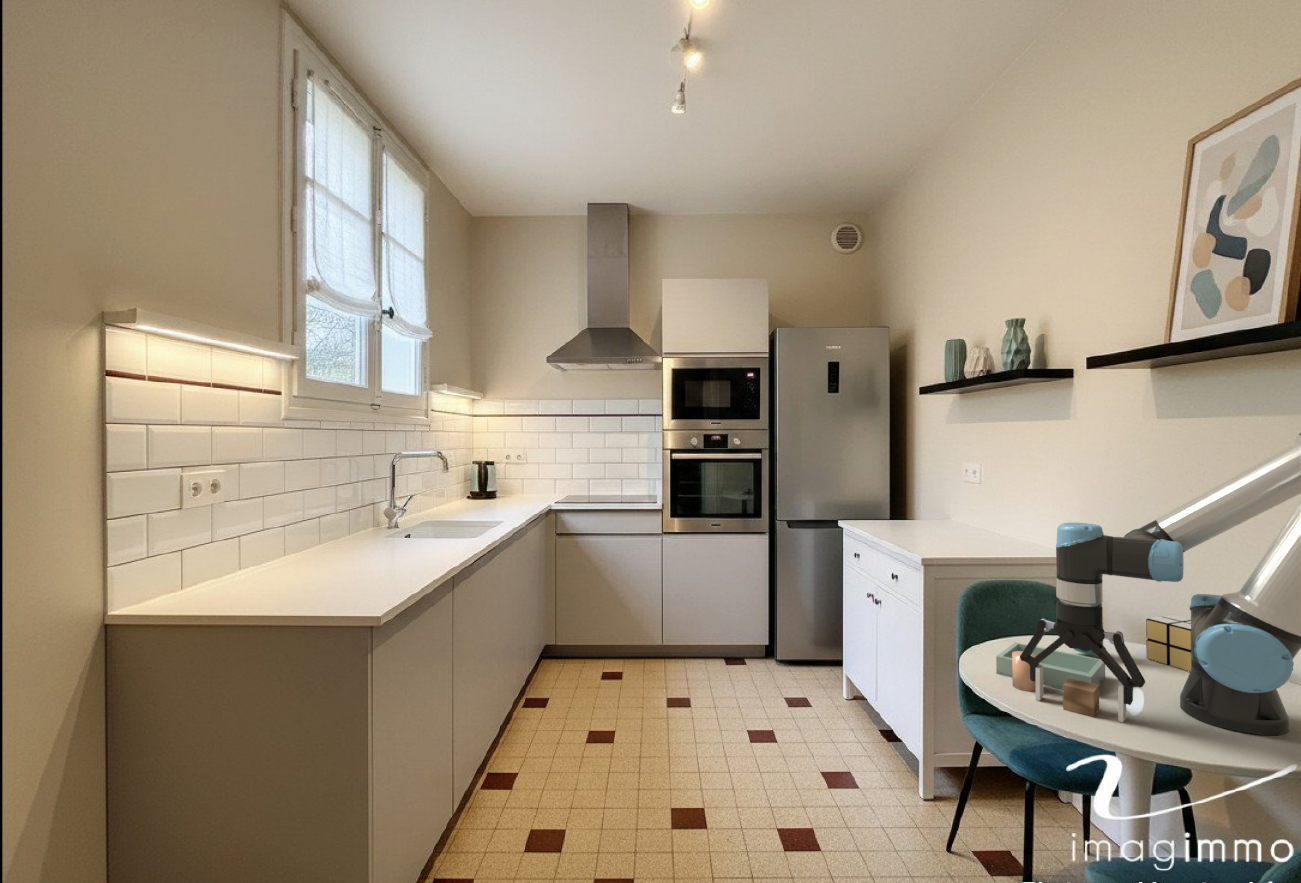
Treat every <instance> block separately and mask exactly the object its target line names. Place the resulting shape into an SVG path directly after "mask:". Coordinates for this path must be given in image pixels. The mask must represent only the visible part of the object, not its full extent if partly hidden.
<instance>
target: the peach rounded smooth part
mask: <svg viewBox="0 0 1301 883" xmlns="http://www.w3.org/2000/svg"><path fill="white" fill-rule="evenodd" d="M1022 652H1023V651H1014V652H1012V677H1011V678H1012V687H1013V688H1015V689H1016V690H1019V691H1022V692H1028V693H1029V692H1031V693H1036V682H1034V681H1031V679H1030V665H1029V664H1028V663H1027V662H1025V661H1021V660H1020V655H1021V654H1022ZM1030 656H1032V657H1036V656H1037V654H1034V653H1032V654H1031V655H1030Z"/></svg>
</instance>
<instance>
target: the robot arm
mask: <svg viewBox="0 0 1301 883" xmlns="http://www.w3.org/2000/svg"><path fill="white" fill-rule="evenodd" d="M1300 494H1301V432H1300V433H1298V434H1297V435H1295V440H1294V443H1293V444H1292V445H1289V446H1288V447H1286V448H1284V449H1282V450H1280V451H1279V452H1277V453H1275V454H1273V455H1271V456H1270V457H1268V458H1266V459H1264V460H1262V461H1260V462H1258V463H1257V464H1255V465H1253V466H1250V468H1248V469H1245V470H1244V471H1242V472H1240V473H1238V474H1236V475H1235V476H1233V477H1231V478H1228V479H1227V480H1226V481H1223V482H1222V483H1220V484H1219V485H1216V486H1214V487H1213V488H1211V489H1209V490H1207V491H1205V492H1203V493H1202V494H1200V495H1198V496H1196V497H1194V498H1192V499H1191V500H1189V501H1187V502H1185V503H1183V504H1182V505H1180V506H1178V507H1176V508H1174V509H1173V510H1170V511H1169V512H1167V513H1165V514H1163V515H1161V516H1160V517H1158V518H1156V519H1155V520H1153V521H1151V522H1149V523H1147V524H1145V525H1143V526H1141V527H1139V528H1135V529H1133V530H1132V529H1131V531H1129V532H1127V533H1126V534H1125V535H1124V536H1123V537H1122V536H1111V535H1110V536H1109V535H1105V534H1104V531H1103V528H1102V526H1100V525H1099V524H1095V523H1087V522H1063V523H1061V524H1059V525H1058V527H1057V529H1056V530H1057V532H1056V545H1055V556H1056V559H1055V560H1056V561H1055V562H1056V564H1055V565H1056V586H1055V587H1056V588H1055V590H1056V592H1055V593H1056V598H1058V600H1056V614H1055V615H1056V620H1055V622H1053V621H1050V620H1048V619H1047V618H1045V617H1043V618H1041V619H1039V620H1038V621H1037V628H1036V631H1035V632H1034V634H1033V636H1032V637H1031V638H1030V640H1029V641H1028V643H1027V646H1026V648H1025V649H1024V651H1023V652H1022V654H1021V655H1020V660H1021V661H1025V662H1027V663H1028V664H1029V665H1030V679H1031V681H1034V682H1036V692H1035V700H1037V701H1041V700H1042V699H1043V698H1044V685H1043V665H1040V664H1039V663H1040V662H1041V661H1042V660H1043V659H1045V658H1046V657H1047V656H1049V655H1050V654H1051V653H1052V652H1054V651H1055V650H1057V649H1059V648H1060V647H1061V646H1062V645H1065V646H1066V647H1068V648H1069V649H1073V650H1074V649H1080V650H1083V651H1090V650H1092V651H1093V652H1094V653H1095V654H1094V655H1095V656H1096V657H1098V659H1101V660H1102V661H1103V662H1104V664H1105V667H1107V668H1108V670H1109V671H1110V672H1111V673H1112V674H1113V676H1114V677H1115V678H1116V679H1117V681H1119V682H1120V684H1119V685H1118V687H1117V688H1118V689H1117V690H1118V692H1117V693H1118V694H1117V696H1118V697H1117V698H1118V699H1117V702H1118V704H1117V706H1118V707H1117V708H1118V709H1117V711H1118V713H1117V716H1118V718H1117V720H1118V722H1120V723H1124V722H1125V721H1126V718H1127V714H1126V713H1127V705H1129V706H1130V705H1132V703H1133V701H1134V688H1140V689H1141V688H1143V687H1144V686H1145V684H1146V680H1145V678H1144V676H1143V674H1142V672H1141V671H1140V669H1139V667H1138V665H1137V664H1136V661H1135V660H1134V658H1133V656H1132V654H1131V652H1130V650H1128V647H1127V646H1126V644H1125V639H1124V633H1123V632H1121V631H1116V632H1111V631H1110V632H1109V631H1105V629H1104V621H1103V620H1104V618H1103V616H1104V615H1103V608H1104V607H1103V605H1102V606H1101V605H1100V603H1102V604H1103V599H1104V598H1103V591H1104V590H1103V575H1104V576H1105V575H1106V576H1107V575H1108V576H1116V577H1124V578H1131V579H1132V578H1133V579H1142V580H1147V581H1148V580H1151V581H1155V582H1158V583H1159V582H1170V583H1172V582H1173V583H1178V582H1181V581H1182V580H1183V578H1184V553H1185V552H1187V551H1190V550H1191V549H1193V548H1194V547H1196V546H1199V545H1201V544H1203V543H1205V542H1206V541H1209V540H1211V539H1213V538H1214V537H1217V536H1219V535H1221V534H1223V533H1224V532H1225V533H1226V532H1227V531H1229V530H1231V529H1233V528H1235V527H1237V526H1239V525H1241V524H1243V523H1245V522H1247V521H1249V520H1250V519H1252V518H1255V517H1257V516H1258V515H1261V514H1263V513H1265V512H1266V511H1268V510H1270V509H1273V508H1274V507H1276V506H1279V505H1281V504H1282V503H1284V502H1286V501H1288V500H1291V499H1292V498H1295V497H1296V496H1298V495H1300ZM1189 610H1190V619H1191V665H1192V666H1191V672H1189V674H1188V676H1187V678H1186V682H1185V683H1184V685H1183V688H1182V690H1181V692H1180V696H1179V704H1180V705H1179V706H1180V708H1181V710H1182V711H1183V712H1184V713H1186V714H1187V715H1189V716H1190V717H1192V718H1195V719H1197V720H1199V721H1201V722H1204V723H1206V724H1209V725H1213V726H1215V727H1220V728H1222V729H1223V728H1224V729H1226V730H1230V731H1235V732H1240V733H1246V734H1253V735H1260V736H1261V735H1262V736H1279V735H1280V736H1281V735H1283V734H1286V733H1288V732H1289V730H1290V726H1289V725H1290V724H1289V722H1290V721H1289V719H1290V718H1289V715H1288V713H1287V710H1286V708H1285V705H1284V703H1283V701H1282V699H1281V697H1280V694H1279V692H1278V689H1280V688H1281V687H1282V686H1284V685H1285V684H1287V682H1288V681H1289V680H1290V678H1291V676H1292V673H1293V671H1294V663H1295V662H1294V658H1295V657H1296V656H1297V654H1298V653H1299V652H1300V650H1301V501H1300V502H1299V504H1298V505H1297V507H1296V508H1295V510H1294V511H1293V513H1292V514H1291V515H1290V517H1289V518H1288V520H1287V521H1286V522H1285V524H1284V526H1283V527H1282V528H1281V530H1280V531H1279V532H1278V535H1276V538H1275V539H1274V540H1273V542H1272V543H1271V544H1270V546H1269V547H1268V549H1267V551H1266V552H1265V553H1264V555H1263V556H1262V558H1260V560H1259V562H1258V563H1257V565H1256V566H1255V568H1254V570H1253V571H1252V572H1251V573H1250V575H1249V576H1248V578H1247V579H1246V581H1245V582H1244V584H1243V585H1242V586H1241V589H1240V590H1239V591H1237V592H1230V593H1224V594H1222V595H1218V594H1209V593H1208V594H1206V593H1197V594H1194V595H1192V596H1191V599H1190V604H1189ZM1052 629H1053V630H1054V632H1055V633H1056V634H1057V637H1058V638H1057V639H1056V640H1054V641H1053V642H1052V643H1051V644H1049V645H1048V646H1047V647H1045V648H1046V649H1044V650H1043V651H1042V652H1041V653H1039V654H1038V655H1037V656H1036V657H1032V656H1030V655H1031V654H1032V652H1033V651H1034V649H1035V648H1036V646H1037V647H1038V645H1039V643H1040V641H1041V640H1042V639H1043V637H1044V635H1045V634H1046V633H1047V632H1049V631H1051V630H1052ZM1105 639H1107V640H1108V642H1109V643H1110V644H1111V645H1114V649H1115V651H1116V653H1117V654H1118V656H1119V658H1120V660H1121V662H1122V664H1123V665H1124V667H1125V668H1126V670H1124V668H1122V666H1121V664H1119V662H1117V661H1116V660H1115V659H1114V657H1113V656H1112V655H1111V654H1110V653H1109V651H1108V650H1107V648H1106V647H1105V645H1104V644H1103V645H1102V643H1101V641H1102V640H1103V641H1104V640H1105ZM1126 671H1127V672H1126ZM1128 674H1129V675H1128Z"/></svg>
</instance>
